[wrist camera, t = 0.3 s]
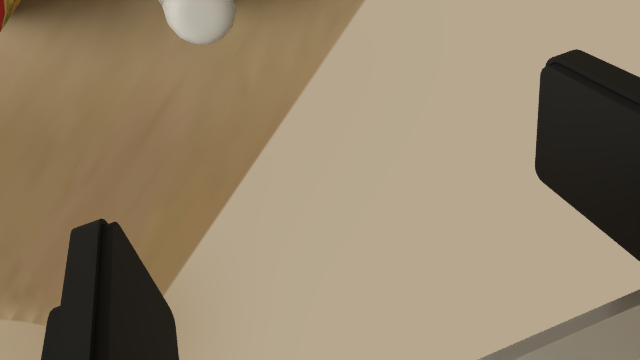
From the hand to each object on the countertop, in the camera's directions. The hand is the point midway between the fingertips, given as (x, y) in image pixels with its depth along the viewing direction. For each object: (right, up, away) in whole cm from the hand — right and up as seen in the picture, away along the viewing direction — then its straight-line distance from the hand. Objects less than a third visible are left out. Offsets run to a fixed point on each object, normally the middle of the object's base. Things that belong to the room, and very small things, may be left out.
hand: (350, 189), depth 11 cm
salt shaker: (-12, +17, +30) cm, 36 cm away
